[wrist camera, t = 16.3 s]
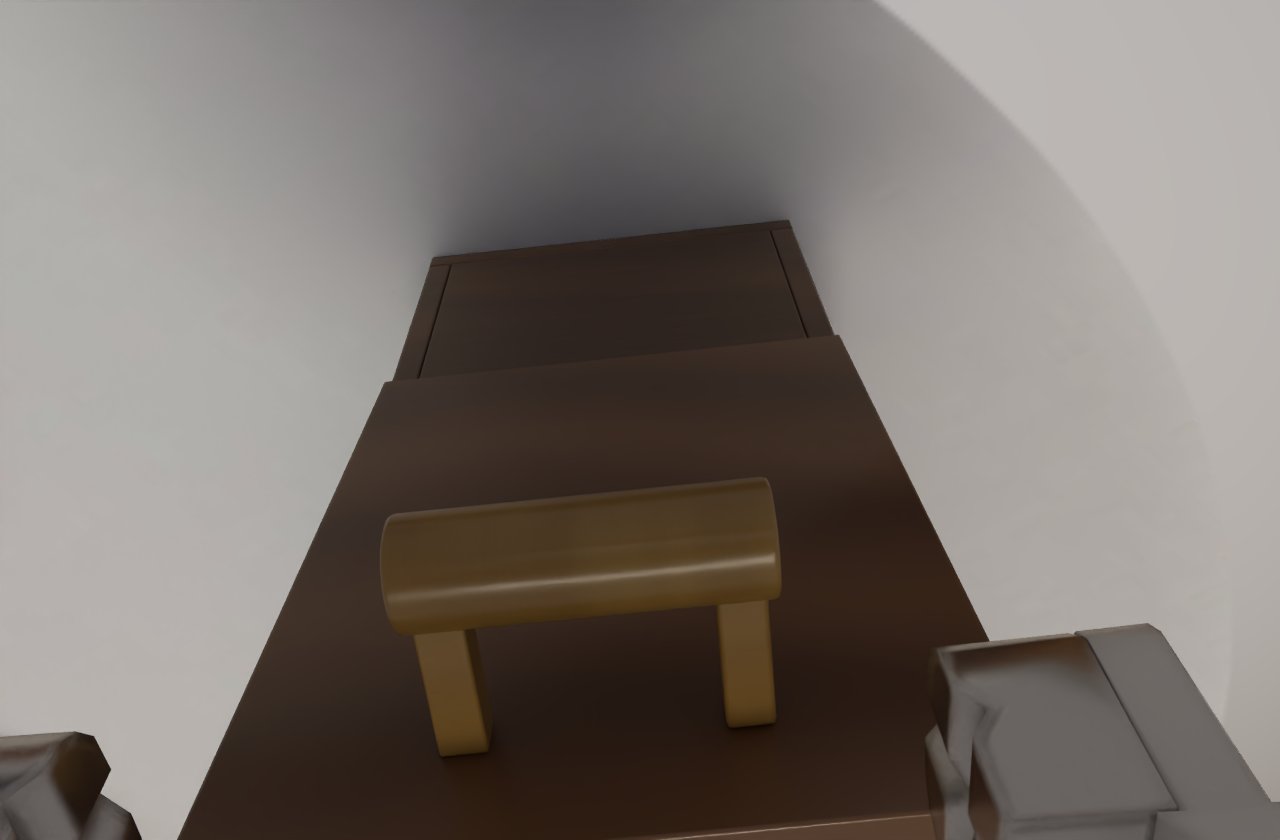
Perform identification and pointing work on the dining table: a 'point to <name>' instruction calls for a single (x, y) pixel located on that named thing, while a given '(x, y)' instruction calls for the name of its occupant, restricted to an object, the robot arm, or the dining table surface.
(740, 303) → the chest
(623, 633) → the chest lid
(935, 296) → the dining table surface
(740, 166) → the dining table surface
